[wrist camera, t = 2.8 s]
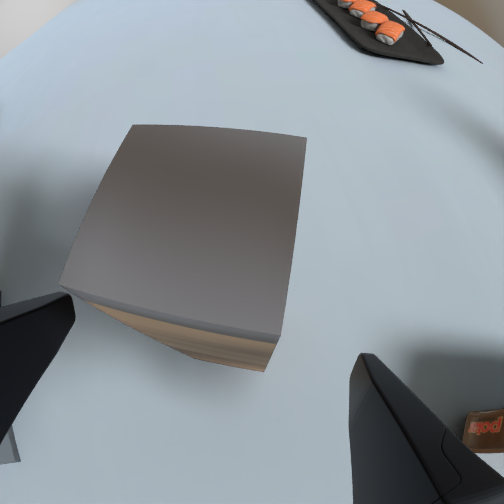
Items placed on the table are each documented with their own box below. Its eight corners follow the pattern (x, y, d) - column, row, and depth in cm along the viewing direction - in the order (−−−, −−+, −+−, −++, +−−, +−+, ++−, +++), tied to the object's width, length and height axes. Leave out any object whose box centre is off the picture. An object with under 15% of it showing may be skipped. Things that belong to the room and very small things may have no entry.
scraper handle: (263, 371, 16) (280, 335, 4) (194, 358, 17) (58, 284, 5) (275, 304, 18) (306, 137, 6) (209, 293, 18) (132, 124, 6)
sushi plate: (301, -4, 42) (303, -20, 39) (426, 16, 44) (429, 4, 40) (362, 62, 30) (367, 38, 27) (507, 92, 32) (515, 77, 28)
